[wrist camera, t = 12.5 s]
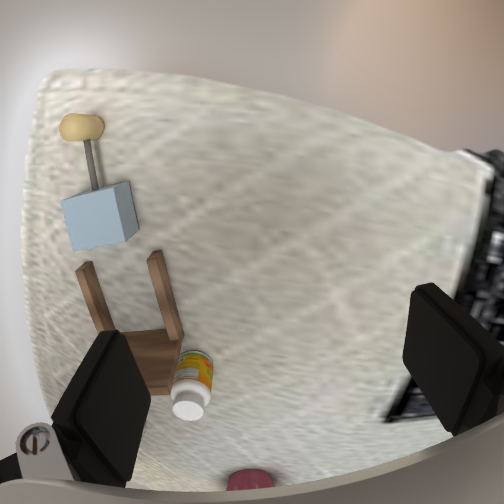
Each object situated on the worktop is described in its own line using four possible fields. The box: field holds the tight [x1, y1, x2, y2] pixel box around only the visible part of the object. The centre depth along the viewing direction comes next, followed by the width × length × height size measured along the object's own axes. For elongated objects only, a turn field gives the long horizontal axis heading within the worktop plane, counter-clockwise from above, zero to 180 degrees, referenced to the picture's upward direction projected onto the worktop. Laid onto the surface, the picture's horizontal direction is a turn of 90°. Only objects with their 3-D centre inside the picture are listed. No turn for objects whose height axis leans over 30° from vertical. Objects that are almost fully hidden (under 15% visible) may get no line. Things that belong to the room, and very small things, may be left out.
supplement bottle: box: [170, 351, 213, 421], centre depth 39 cm, size 5×5×10 cm
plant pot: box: [226, 470, 274, 491], centre depth 50 cm, size 14×14×13 cm
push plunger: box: [59, 113, 139, 252], centre depth 31 cm, size 15×7×6 cm, turn 8°
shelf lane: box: [75, 250, 184, 396], centre depth 34 cm, size 12×11×12 cm
